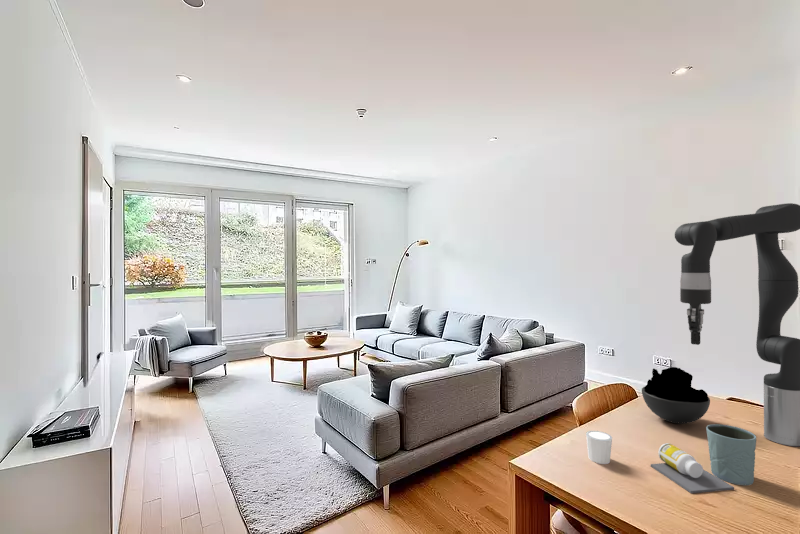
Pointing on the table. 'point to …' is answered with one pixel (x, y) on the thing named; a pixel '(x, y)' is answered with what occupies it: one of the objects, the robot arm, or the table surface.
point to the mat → (693, 480)
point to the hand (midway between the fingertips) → (695, 344)
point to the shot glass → (599, 446)
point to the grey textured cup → (732, 453)
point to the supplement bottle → (680, 460)
